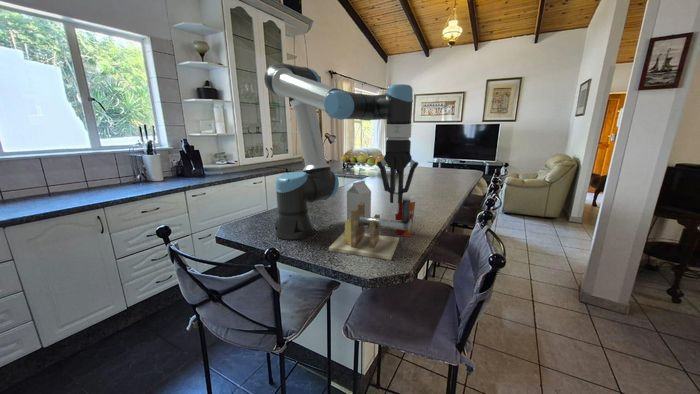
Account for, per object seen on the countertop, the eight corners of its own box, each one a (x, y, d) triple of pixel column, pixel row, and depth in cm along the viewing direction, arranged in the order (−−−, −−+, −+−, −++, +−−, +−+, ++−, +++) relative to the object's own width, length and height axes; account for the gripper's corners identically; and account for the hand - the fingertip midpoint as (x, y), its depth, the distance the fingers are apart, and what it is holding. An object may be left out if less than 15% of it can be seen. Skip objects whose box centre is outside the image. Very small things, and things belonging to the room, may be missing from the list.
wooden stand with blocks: (328, 250, 92) (328, 210, 89) (345, 233, 107) (344, 199, 103) (390, 260, 86) (392, 217, 82) (399, 240, 100) (400, 203, 97)
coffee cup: (414, 238, 103) (416, 199, 99) (392, 236, 104) (393, 198, 101) (414, 230, 111) (416, 194, 107) (393, 228, 112) (394, 193, 109)
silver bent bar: (358, 228, 93) (358, 198, 91) (361, 224, 97) (362, 195, 95) (409, 234, 88) (411, 202, 85) (411, 230, 92) (412, 199, 89)
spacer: (345, 244, 94) (344, 222, 92) (352, 236, 102) (352, 215, 100) (352, 245, 93) (352, 223, 91) (358, 236, 101) (359, 216, 99)
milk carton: (370, 226, 115) (371, 181, 111) (359, 230, 110) (359, 184, 106) (358, 222, 120) (358, 179, 115) (346, 226, 115) (346, 181, 110)
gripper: (374, 139, 83) (373, 214, 88) (418, 139, 79) (414, 218, 84) (380, 138, 90) (378, 207, 95) (421, 138, 85) (417, 211, 91)
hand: (395, 212), depth 90 cm, fingers closed
